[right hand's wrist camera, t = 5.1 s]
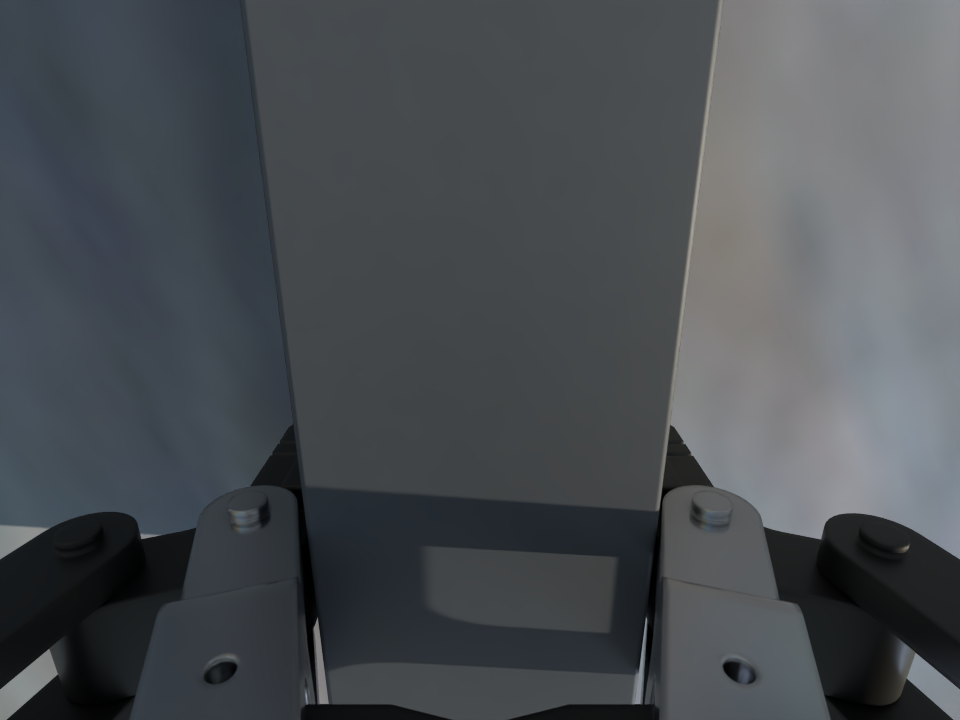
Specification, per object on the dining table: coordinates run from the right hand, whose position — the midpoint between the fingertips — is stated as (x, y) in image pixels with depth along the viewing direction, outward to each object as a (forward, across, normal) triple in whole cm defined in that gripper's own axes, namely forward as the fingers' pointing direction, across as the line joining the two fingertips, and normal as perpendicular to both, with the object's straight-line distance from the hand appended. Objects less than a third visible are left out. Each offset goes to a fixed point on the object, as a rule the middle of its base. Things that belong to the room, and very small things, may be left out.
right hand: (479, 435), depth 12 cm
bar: (+4, 0, -25) cm, 26 cm away
